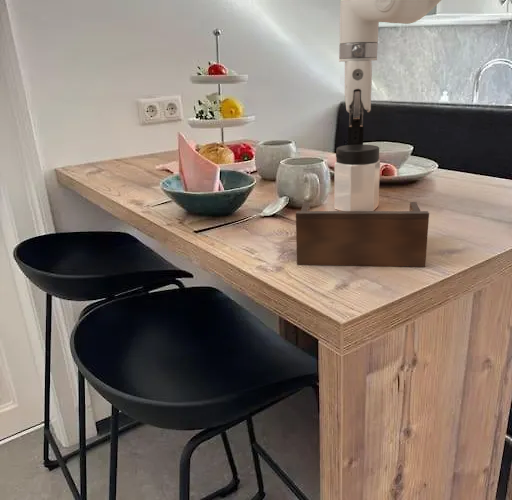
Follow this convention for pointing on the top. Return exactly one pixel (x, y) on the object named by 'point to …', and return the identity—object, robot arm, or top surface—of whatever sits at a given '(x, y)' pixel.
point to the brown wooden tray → (362, 237)
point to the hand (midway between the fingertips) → (355, 145)
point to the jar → (356, 178)
